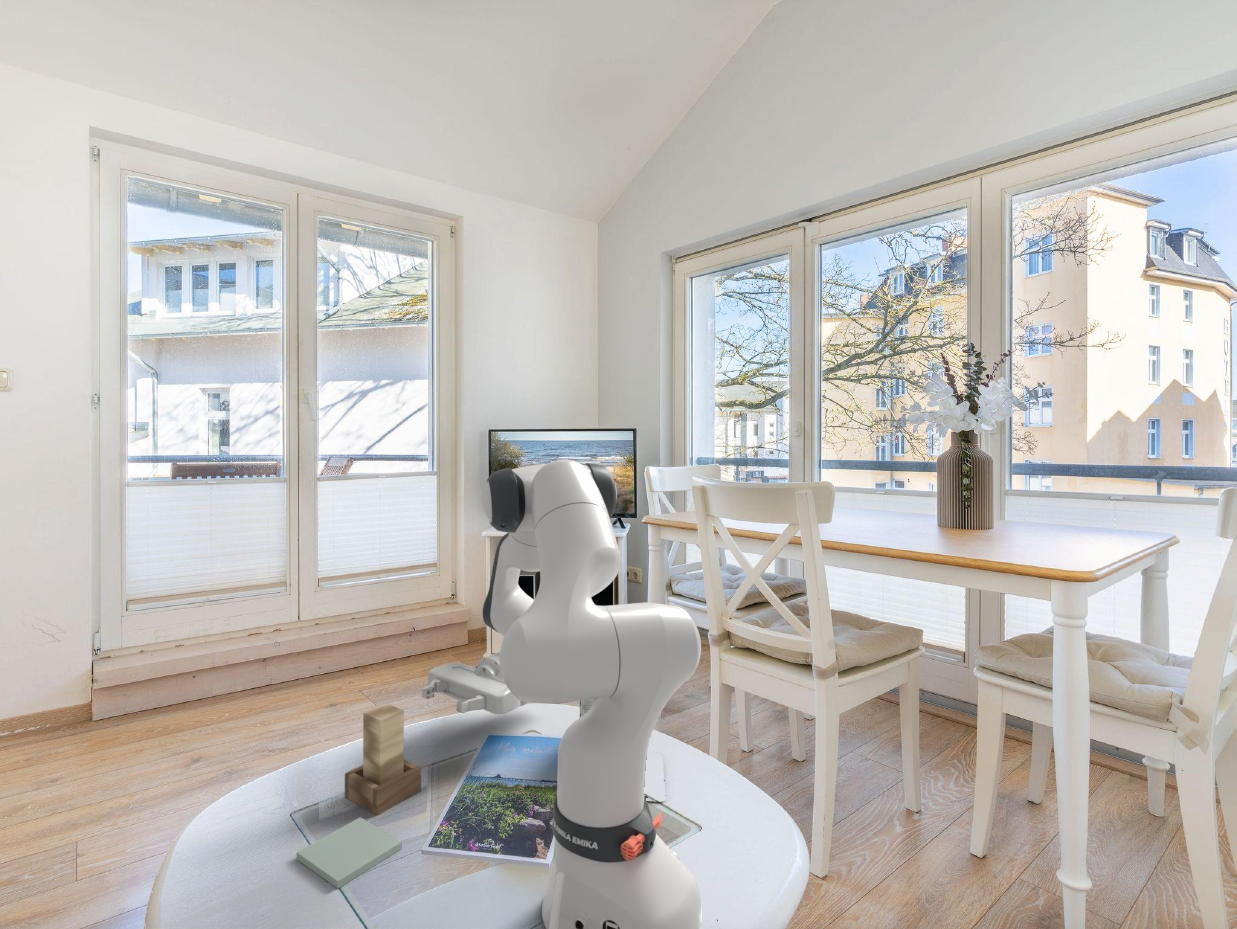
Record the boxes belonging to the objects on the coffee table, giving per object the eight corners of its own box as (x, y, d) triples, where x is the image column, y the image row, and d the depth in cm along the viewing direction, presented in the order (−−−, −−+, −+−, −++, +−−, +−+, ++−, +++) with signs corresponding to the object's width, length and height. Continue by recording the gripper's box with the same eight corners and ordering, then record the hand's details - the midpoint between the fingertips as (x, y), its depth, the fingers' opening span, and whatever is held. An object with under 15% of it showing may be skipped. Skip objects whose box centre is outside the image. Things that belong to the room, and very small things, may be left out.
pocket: (421, 790, 107) (421, 767, 107) (376, 815, 100) (376, 790, 100) (389, 774, 112) (389, 752, 111) (344, 797, 105) (344, 773, 104)
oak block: (403, 792, 106) (403, 710, 106) (380, 805, 103) (380, 720, 102) (386, 783, 109) (386, 703, 108) (363, 795, 105) (363, 712, 104)
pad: (401, 848, 92) (401, 841, 92) (337, 888, 84) (337, 881, 84) (360, 823, 98) (360, 817, 98) (296, 858, 89) (296, 851, 89)
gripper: (460, 650, 133) (404, 670, 121) (534, 674, 121) (480, 698, 110) (459, 679, 133) (404, 702, 122) (533, 706, 122) (480, 734, 110)
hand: (441, 701), depth 116 cm, fingers open, 8 cm apart
